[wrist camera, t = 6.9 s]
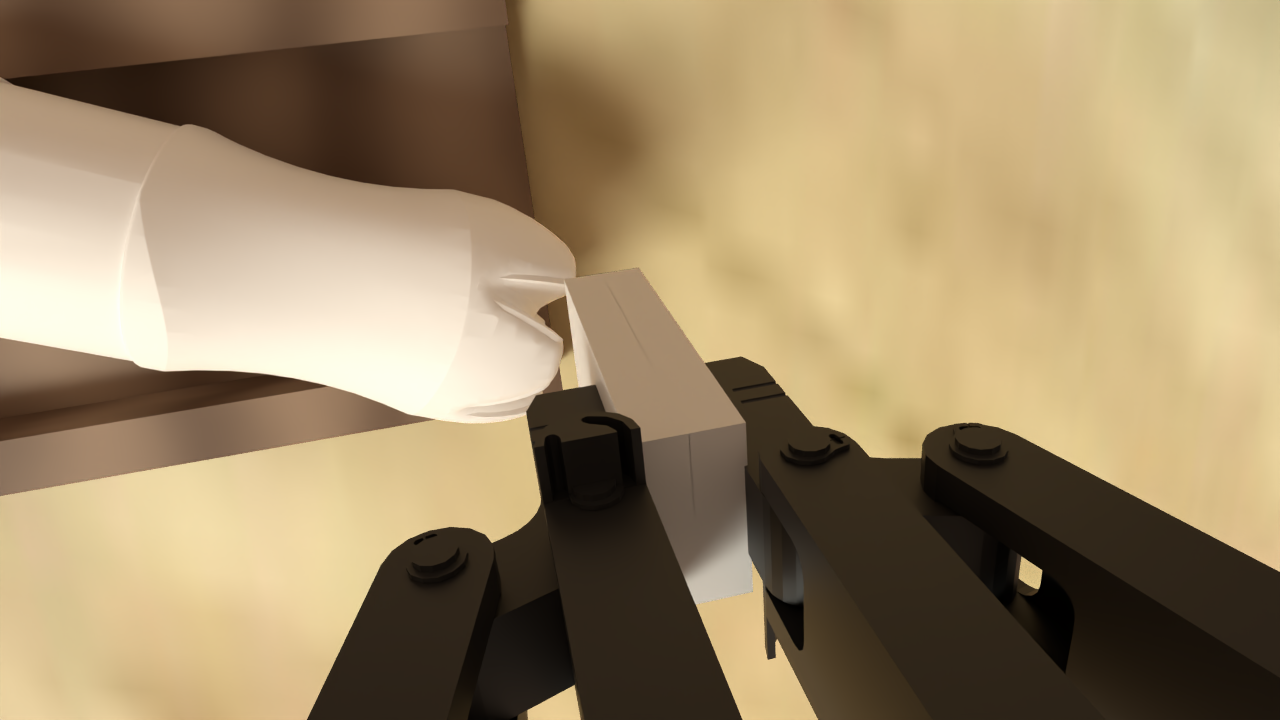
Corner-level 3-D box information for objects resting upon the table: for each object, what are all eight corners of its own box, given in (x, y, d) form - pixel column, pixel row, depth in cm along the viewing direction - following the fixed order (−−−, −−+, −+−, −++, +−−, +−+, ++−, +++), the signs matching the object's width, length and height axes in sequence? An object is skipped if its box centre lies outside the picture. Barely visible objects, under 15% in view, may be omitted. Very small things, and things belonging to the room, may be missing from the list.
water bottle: (600, 221, 23) (-577, -74, 17) (545, 464, 24) (-600, 271, 18) (565, 220, 30) (-279, 12, 24) (522, 409, 31) (-305, 257, 24)
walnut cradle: (493, -44, 27) (498, -48, 25) (554, 364, 34) (563, 396, 31) (-341, 36, 24) (-443, 41, 21) (-97, 475, 30) (-151, 522, 27)
